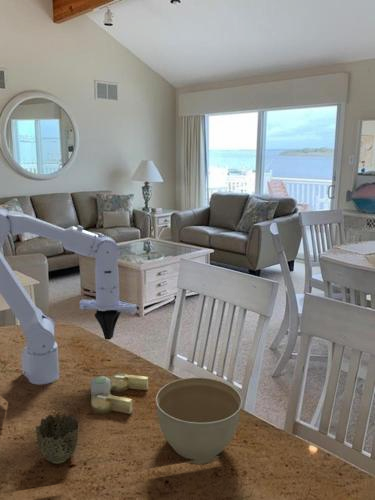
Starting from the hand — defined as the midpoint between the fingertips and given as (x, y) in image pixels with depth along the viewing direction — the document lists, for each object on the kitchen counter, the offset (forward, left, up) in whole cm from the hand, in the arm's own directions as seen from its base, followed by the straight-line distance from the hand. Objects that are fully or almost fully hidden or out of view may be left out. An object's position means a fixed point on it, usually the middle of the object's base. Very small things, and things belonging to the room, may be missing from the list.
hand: (108, 337), depth 116 cm
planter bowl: (+37, -6, -10) cm, 39 cm away
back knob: (+11, -2, -9) cm, 14 cm away
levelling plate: (+9, -9, -10) cm, 16 cm away
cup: (+22, -27, -10) cm, 36 cm away
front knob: (+16, -11, -9) cm, 21 cm away
